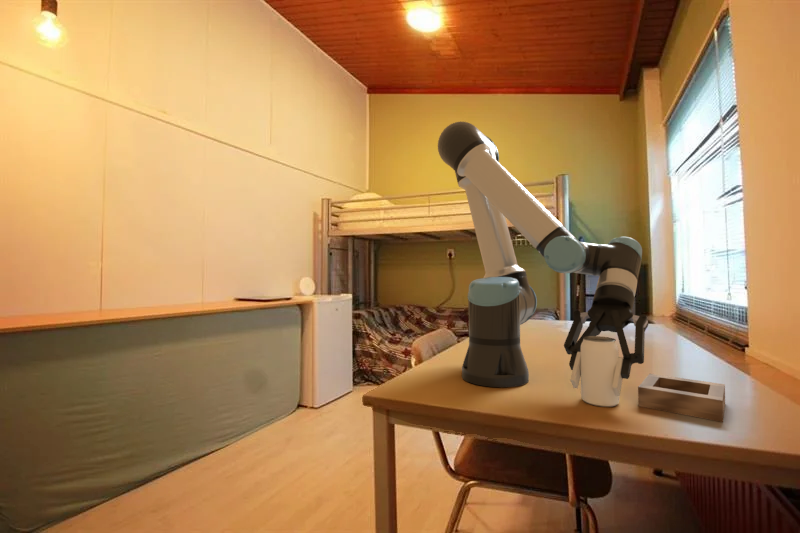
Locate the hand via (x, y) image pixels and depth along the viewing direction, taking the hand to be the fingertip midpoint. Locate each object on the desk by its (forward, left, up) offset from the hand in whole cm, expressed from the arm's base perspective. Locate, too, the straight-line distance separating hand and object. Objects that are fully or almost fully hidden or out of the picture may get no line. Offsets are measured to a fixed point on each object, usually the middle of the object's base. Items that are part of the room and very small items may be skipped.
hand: (594, 387), depth 72 cm
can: (0, +4, -4) cm, 5 cm away
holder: (+12, +12, -3) cm, 17 cm away
